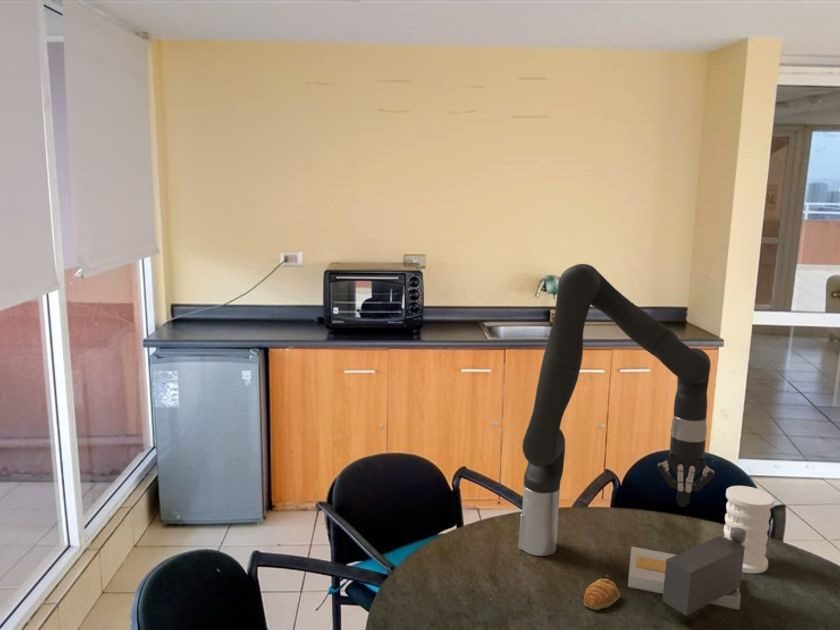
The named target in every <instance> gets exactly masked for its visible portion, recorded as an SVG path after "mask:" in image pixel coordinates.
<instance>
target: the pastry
mask: <svg viewBox="0 0 840 630" xmlns="http://www.w3.org/2000/svg"><path fill="white" fill-rule="evenodd" d="M620 597H621V593H620V591H619V589H618V587H617V585H616V583H615V582H613V581H612V580H610V579H608V578H599V579H597V580H596V581H593V582H592V583H591V584H589V586H587V588H586V589H585V592H584V596H583V605H584V606H585V607H587V608H589V609H591V610H595V611H599V610H601V609H607V608H610V606H612V605H613V604H615V603H617V601H618V600H619V599H620Z"/></svg>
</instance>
